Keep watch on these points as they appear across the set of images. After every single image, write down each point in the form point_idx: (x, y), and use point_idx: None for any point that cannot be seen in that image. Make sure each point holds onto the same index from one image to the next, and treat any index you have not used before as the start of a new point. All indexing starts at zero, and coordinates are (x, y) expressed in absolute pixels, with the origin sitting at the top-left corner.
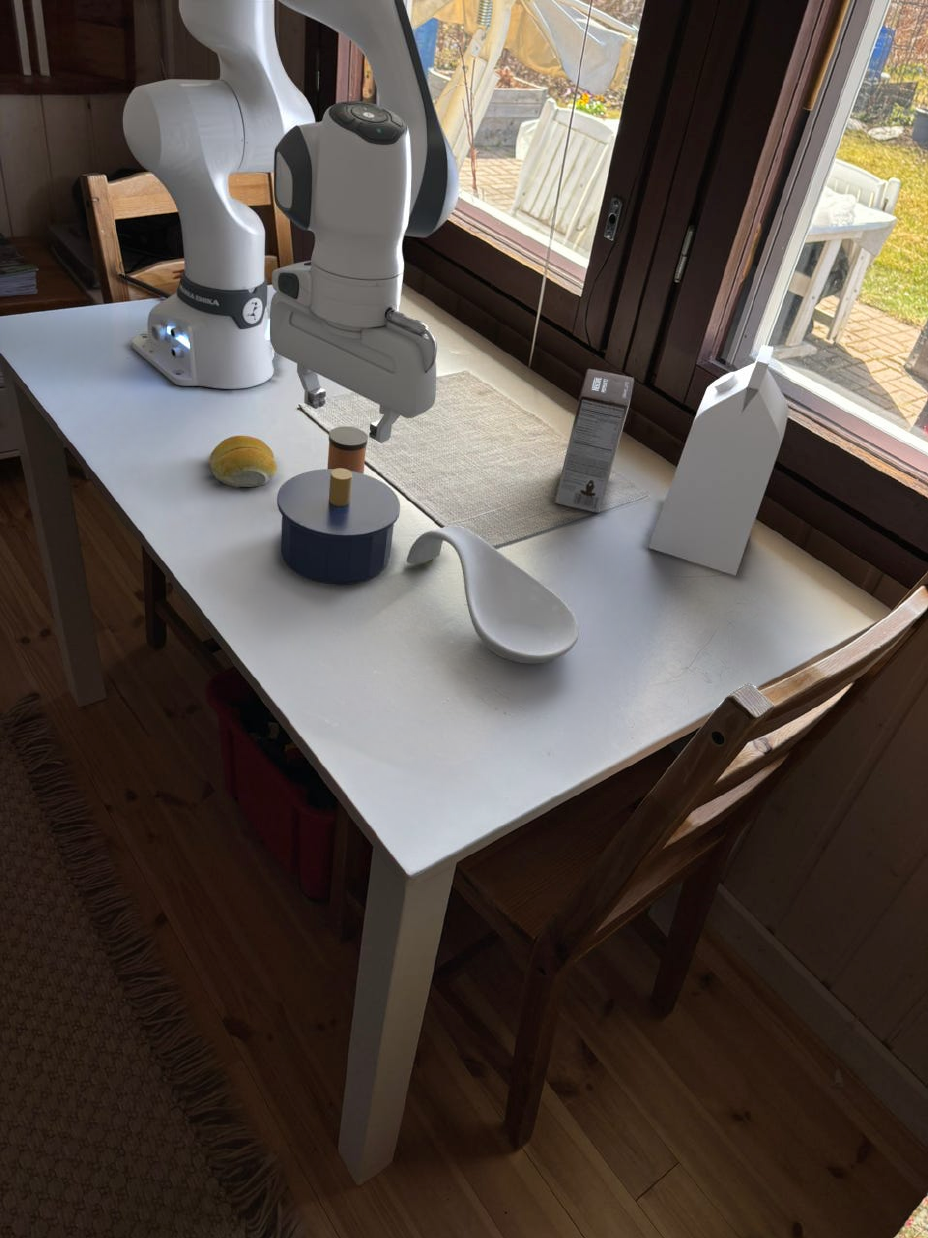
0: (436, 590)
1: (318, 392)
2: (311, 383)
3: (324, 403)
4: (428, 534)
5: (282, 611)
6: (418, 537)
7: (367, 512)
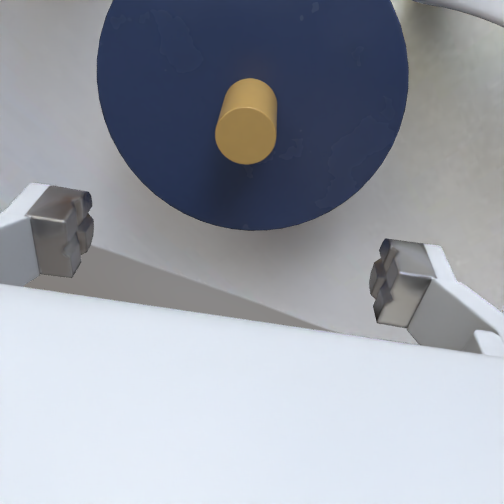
0: (497, 32)
1: (65, 255)
2: (10, 267)
3: (87, 193)
4: (490, 21)
5: (284, 239)
6: (449, 3)
7: (334, 104)
